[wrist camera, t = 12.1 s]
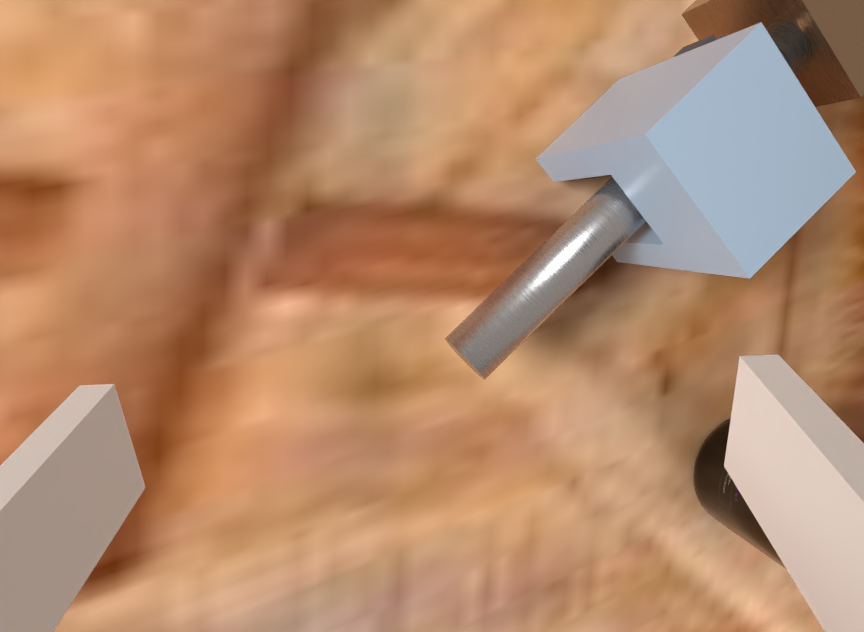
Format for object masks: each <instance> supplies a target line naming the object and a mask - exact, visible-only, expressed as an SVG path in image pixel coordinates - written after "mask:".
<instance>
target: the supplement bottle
mask: <svg viewBox="0 0 864 632" xmlns="http://www.w3.org/2000/svg"><path fill="white" fill-rule="evenodd" d="M730 420H731V419H730ZM730 420H728V421H726V422H725V423H723V424H721V425H720V426H719V427H717V428H716V429H715V430H714V431H713V432H712V433H711V434H710V435H709V436H708V437H707V439H706V440H705V442H704V443H703V445H702V446H701V448H700V450H699V453H698V455H697V458H696V461H695V466H694V486H695V491H696V494H697V497H698V499H699V501H700V503H701V504H702V506H703V507H704V509H705V510H706V511H707V512H708V513H709V514H710V515H711V516H713V517H714V518H715V519H716V520H718V521H719V522H721V523H722V524H723V525H725V526H726V527H727V528H729V529H730V530H732V531H733V532H734V533H736V534H737V535H739V536H740V537H742V538H743V539H744V540H746V541H747V542H749V543H750V544H751V545H753V546H754V547H756V548H757V549H759V550H760V551H761V552H763V553H764V554H766V555H767V556H768V557H770V558H771V559H773V560H774V561H776V562H777V563H778V564H780V565H781V566H783V567H784V568H785V569H786V567H785V566H784V564H783V562H782V561H781V559H780V557H779V556H778V554H777V553H776V551H775V549H774V548H773V546H772V544H771V543H770V541H769V539H768V538H767V536H766V534H765V533H764V531H763V529H762V528H761V526H760V525H759V523H758V521H757V520H756V518H755V516H754V515H753V513H752V511H751V510H750V508H749V506H748V505H747V503H746V502H745V500H744V498H743V497H742V495H741V493H740V492H739V490H738V488H737V487H736V485H735V483H734V482H733V480H732V479H731V477H730V475H729V474H728V472H727V470H726V469H725V467H724V462H725V455H726V448H727V441H728V434H729V427H730Z"/></svg>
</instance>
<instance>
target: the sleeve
mask: <svg viewBox="0 0 864 632" xmlns="http://www.w3.org/2000/svg"><path fill="white" fill-rule="evenodd" d="M536 160H537V162H538V163H539V164H540V165H541V167H542V168H543V169H544V170H545V172H546V173H547V174H548V175H549V177H550V178H551V179H552V180H553V182H558V181H566V180H573V179H581V178H589V177H597V176H604V175H611V176H612V177H613V178H614V180H615V181H616V182H617V183H618V185H619V186H620V187H621V189H622V190H623V191H624V193H625V194H626V195H627V197H628V198H629V199H630V201H631V202H632V203H633V205H634V206H635V207H636V208H637V210H638V211H639V212H640V214H641V215H642V216H643V218H644V219H645V220H646V222H645V223H644V224H643V225H642V226H641V227H640V228H639V229H638V230H637V231H636V232H635V233H634V234H633V235H632V236H631V237H630V238H629V239H628V240H627V241H626V242H625V243H624V244H623V245H622V246H621V247H620V248H618V249H617V250H616V251H615V252H614V253H613V254H612V256H613V257H614V259H615V260H616V261H617V262H621V263H629V264H637V265H645V266H653V267H661V268H669V269H677V270H685V271H693V272H701V273H709V274H717V275H725V276H733V277H741V278H749V279H750V278H751V277H752V276H753V275H754V274H755V273H756V272H757V271H758V270H759V269H760V268H761V267H762V266H763V265H764V264H765V263H766V262H767V261H768V260H769V259H770V258H771V257H772V256H773V255H774V254H775V253H776V252H777V251H778V250H779V249H780V248H781V247H782V246H783V245H784V244H785V243H786V242H787V241H788V240H789V239H790V238H791V237H792V236H793V235H794V234H795V233H796V232H797V231H798V230H799V229H800V228H801V227H802V226H803V225H804V224H805V223H806V222H807V221H808V220H809V219H810V218H811V217H812V216H813V215H814V214H815V213H816V212H817V211H818V210H819V209H820V208H821V207H822V206H823V205H824V204H825V203H826V202H827V201H828V200H829V199H830V198H831V197H832V196H833V195H834V194H835V193H836V192H837V191H838V190H839V189H840V188H841V187H842V186H843V185H844V184H845V183H846V182H847V181H848V180H849V179H850V178H851V177H852V176H853V175H854V174H855V173H856V171H855V169H854V168H853V166H852V165H851V163H850V161H849V160H848V158H847V157H846V155H845V153H844V152H843V150H842V149H841V147H840V146H839V144H838V142H837V141H836V139H835V138H834V136H833V135H832V133H831V131H830V130H829V128H828V127H827V125H826V123H825V122H824V120H823V119H822V117H821V116H820V114H819V112H818V111H817V109H816V108H815V106H814V105H813V103H812V101H811V100H810V98H809V97H808V95H807V93H806V92H805V90H804V89H803V87H802V86H801V84H800V82H799V81H798V79H797V78H796V76H795V75H794V73H793V71H792V70H791V68H790V67H789V65H788V63H787V62H786V60H785V59H784V57H783V56H782V54H781V52H780V51H779V49H778V48H777V46H776V45H775V43H774V41H773V40H772V38H771V37H770V35H769V33H768V32H767V30H766V29H765V27H764V26H763V24H762V22H760V23H758V24H755V25H753V26H750V27H748V28H745V29H743V30H740V31H738V32H735V33H733V34H730V35H728V36H725V37H723V38H720V39H718V40H715V41H713V42H710V43H708V44H705V45H703V46H700V47H698V48H695V49H693V50H690V51H688V52H685V53H683V54H680V55H678V56H675V57H673V58H670V59H668V60H665V61H663V62H660V63H658V64H655V65H653V66H650V67H648V68H645V69H643V70H640V71H638V72H635V73H633V74H630V75H628V76H625V77H623V78H620V79H619V80H618V81H617V82H616V83H615V84H614V85H613V86H612V87H611V88H609V89H608V90H607V91H606V92H605V93H604V94H603V95H602V96H601V97H600V98H599V99H598V100H597V101H596V102H595V103H594V104H593V105H592V106H591V107H590V108H588V109H587V110H586V111H585V112H584V113H583V114H582V115H581V116H580V117H579V118H578V119H577V120H576V121H575V122H574V123H573V124H572V125H571V126H570V127H568V128H567V129H566V130H565V131H564V132H563V133H562V134H561V135H560V136H559V137H558V138H557V139H556V140H555V141H554V142H553V143H552V144H551V145H550V146H549V147H547V148H546V149H545V150H544V151H543V152H542V153H541V154H540V155H539V156H538V157H537V158H536Z"/></svg>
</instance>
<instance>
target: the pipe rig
mask: <svg viewBox="0 0 864 632" xmlns="http://www.w3.org/2000/svg"><path fill="white" fill-rule="evenodd" d="M682 15H683V17H684V18H685V20H686V21H687V23H688V24H689V26H690V27H691V29H692V30H693V32H694V33H695V35H696V36H697V38H698V39H699V41H700V40H702V39H705V38H707V37H710V36H712V35H714V36H715V38H716V39H718V38H719V37H720V36H723V37H725V36H728V35H730V34H733V33H735V32H738V31H740V30H743V29H745V28H748V27H750V26H753V25H755V24H758V23H760V22H762V24H763V26H764V27H765V29H766V30H767V32H768V33H769V35H770V37H771V38H772V40H773V41H774V43H775V45H776V46H777V48H778V49H779V51H780V52H781V54H782V56H783V57H784V59H785V60H786V62H787V63H788V65H789V67H790V68H791V70H792V71H793V73H794V75H795V76H796V78H797V79H798V81H799V82H800V84H801V86H802V87H803V89H804V90H805V92H806V93H807V95H808V97H809V98H810V100H811V101H812V103H813V105H814V106H815V107H816V106H821V105H826V104H831V103H836V102H840V101H845V100H850V99H855V98H860V97H862V96H863V95H864V0H696V1H695V2H694V3H693V4H692V5H691V6H690V7H689V8H688V9H687V10H686V11H685V12H684V13H683V14H682ZM645 222H646V220H645V219H644V218H643V216H642V215H641V214H640V212H639V211H638V210H637V208H636V207H635V206H634V205H633V203H632V202H631V201H630V199H629V198H628V197H627V195H626V194H625V193H624V191H623V190H622V189H621V187H620V186H619V185H618V183H617V182H616V181H615V180H614V178H613V177H612V178H611V179H610V180H609V181H608V182H607V183H606V184H605V185H604V186H603V187H602V188H601V189H599V190H598V191H597V192H596V193H595V194H594V195H593V196H592V197H591V198H590V199H589V200H588V201H587V202H586V203H585V204H584V205H583V206H582V207H581V208H580V209H579V210H578V211H577V212H576V213H575V214H574V215H573V216H572V217H571V218H569V219H568V220H567V221H566V222H565V223H564V224H563V225H562V226H561V227H560V228H559V229H558V230H557V231H556V232H555V233H554V234H553V235H552V236H551V237H550V238H549V239H548V240H547V241H546V242H545V243H544V244H543V245H542V246H540V247H539V248H538V249H537V250H536V251H535V252H534V253H533V254H532V255H531V256H530V257H529V258H528V259H527V260H526V261H525V262H524V263H523V264H522V265H521V266H520V267H519V268H518V269H517V270H516V271H515V272H514V273H513V274H512V275H510V276H509V277H508V278H507V279H506V280H505V281H504V282H503V283H502V284H501V285H500V286H499V287H498V288H497V289H496V290H495V291H494V292H493V293H492V294H491V295H490V296H489V297H488V298H487V299H486V300H485V301H484V302H483V303H481V304H480V305H479V306H478V307H477V308H476V309H475V310H474V311H473V312H472V313H471V314H470V315H469V316H468V317H467V318H466V319H465V320H464V321H463V322H462V323H461V324H460V325H459V326H458V327H457V328H456V329H455V330H454V331H453V332H451V333H450V334H449V335H448V336H447V337H446V338H445V340H446V341H447V343H448V344H449V345H450V346H451V347H452V349H453V350H454V351H455V352H456V353H457V354H458V355H459V356H460V357H461V358H462V359H463V360H464V361H465V362H466V363H467V364H468V365H469V366H470V367H471V368H472V369H473V370H474V371H475V372H476V373H477V374H478V375H479V376H480V377H481V378H483V379H486V378H487V377H488V376H489V375H490V374H491V373H492V372H493V371H494V370H495V369H496V368H497V367H498V366H499V365H500V364H501V363H502V362H503V361H504V360H505V359H506V358H507V357H508V356H509V355H510V354H511V353H512V352H513V351H514V350H515V349H516V348H517V347H518V346H519V345H520V344H521V343H522V342H523V341H524V340H526V339H527V338H528V337H529V336H530V335H531V334H532V333H533V332H534V331H535V330H536V329H537V328H538V327H539V326H540V325H541V324H542V323H543V322H544V321H545V320H546V319H547V318H548V317H549V316H550V315H551V314H552V313H553V312H554V311H555V310H556V309H557V308H558V307H559V306H560V305H561V304H562V303H563V302H564V301H565V300H566V299H567V298H568V297H569V296H570V295H571V294H573V293H574V292H575V291H576V290H577V289H578V288H579V287H580V286H581V285H582V284H583V283H584V282H585V281H586V280H587V279H588V278H589V277H590V276H591V275H592V274H593V273H594V272H595V271H596V270H597V269H598V268H599V267H600V266H601V265H602V264H603V263H604V262H605V261H606V260H607V259H608V258H609V257H610V256H611V255H612V254H613V253H614V252H615V251H616V250H617V249H618V248H620V247H621V246H622V245H623V244H624V243H625V242H626V241H627V240H628V239H629V238H630V237H631V236H632V235H633V234H634V233H635V232H636V231H637V230H638V229H639V228H640V227H641V226H642V225H643V224H644V223H645Z"/></svg>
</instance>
